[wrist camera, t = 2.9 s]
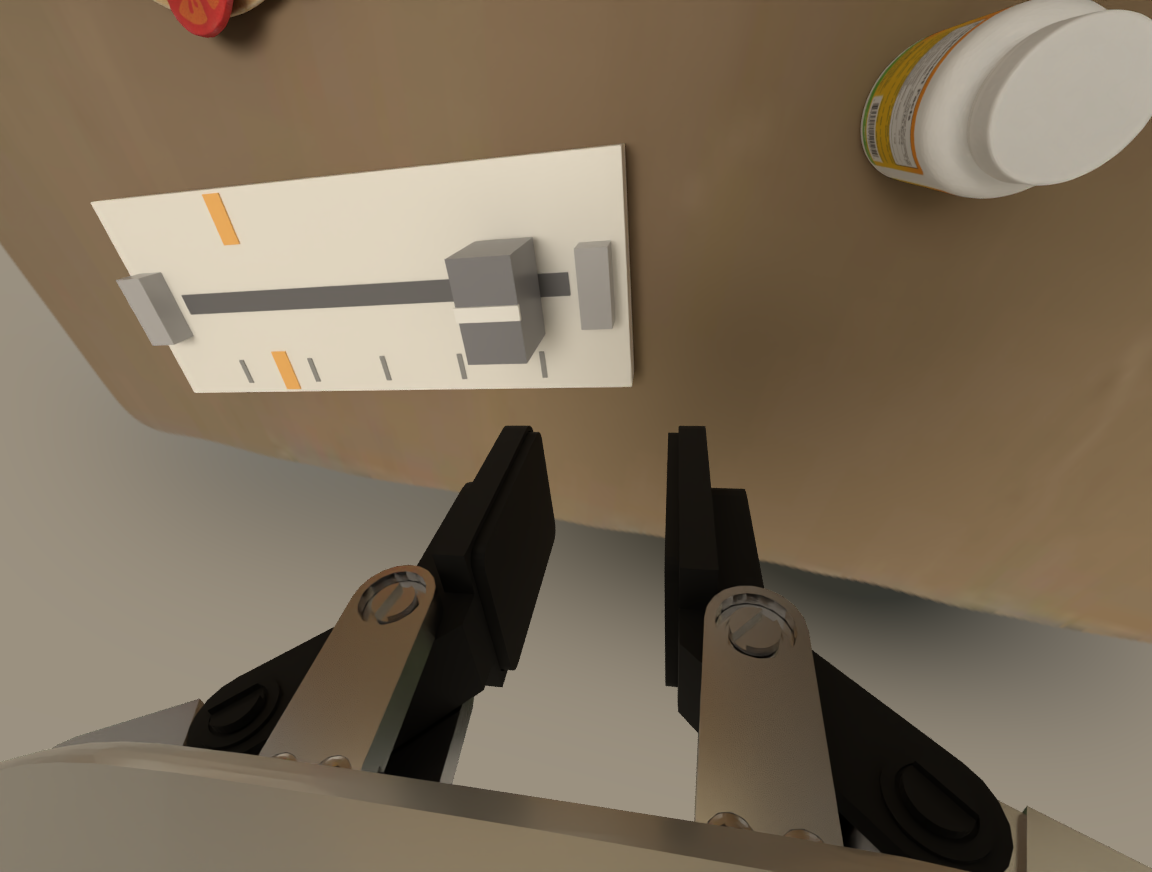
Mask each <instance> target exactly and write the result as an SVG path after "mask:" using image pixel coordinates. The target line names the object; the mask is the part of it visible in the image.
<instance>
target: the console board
mask: <svg viewBox="0 0 1152 872" xmlns="http://www.w3.org/2000/svg"><path fill="white" fill-rule="evenodd" d="M91 204H92V206H93V208H94V210H95V212H96V213H97V215H98V217H99V219H100V221H101V222H102V224H103V226H104V228H105V230H106V232H107V233H108V235H109V237H110V239H111V241H112V243H113V244H114V246H115V248H116V250H117V252H118V254H119V255H120V257H121V259H122V261H123V263H124V265H125V266H126V268H127V270H128V272H129V274H130V275H131V276H129V277H126V278H122V279H119V280H116V281H117V283H118V285H119V287H120V288H121V290H122V292H123V294H124V295H125V297H126V299H127V301H128V302H129V304H130V306H131V308H132V310H133V311H134V313H135V315H136V317H137V318H138V320H139V322H140V324H141V325H142V327H143V329H144V331H145V333H146V334H147V336H148V338H149V340H150V341H151V343H152V345H153V346H156V345H169V347H170V349H171V350H172V352H173V354H174V356H175V358H176V359H177V361H178V363H179V365H180V367H181V369H182V370H183V372H184V374H185V376H186V378H187V380H188V381H189V383H190V385H191V387H192V389H193V391H194V392H195V393H208V392H282V391H356V390H430V389H505V388H579V387H632V382H633V377H634V354H633V329H632V305H631V280H630V256H629V231H628V207H627V182H626V158H625V143H623V144H614V145H605V146H595V147H586V148H577V149H568V150H558V151H549V152H540V153H531V154H522V155H512V156H503V157H494V158H485V159H475V160H466V161H457V162H448V163H438V164H429V165H420V166H411V167H402V168H392V169H383V170H374V171H365V172H355V173H346V174H337V175H328V176H319V177H309V178H300V179H291V180H282V181H272V182H263V183H254V184H245V185H236V186H226V187H217V188H208V189H199V190H189V191H180V192H171V193H162V194H152V195H143V196H134V197H125V198H117V199H110V200H103V201H95V202H91ZM525 237H533V244H534V252H535V259H536V266H537V274H538V281H539V289H540V296H541V304H542V311H543V318H544V326H545V333H546V334H545V336H544V337H543V339H542V341H541V342H540V344H539V345H538V347H537V349H536V350H535V352H534V353H533V355H532V357H531V358H530V360H529V362H528V363H527V364H490V365H468V362H467V357H466V353H465V348H464V344H463V340H462V335H461V331H460V326H459V324H456V319H455V315H454V311H453V308H455V304H454V300H453V295H452V291H451V286H450V282H449V278H448V273H447V269H446V264H445V260H444V259H446V258H448V257H449V256H451V255H453V254H454V253H456V252H458V251H459V250H461V249H463V248H465V247H466V246H468V245H470V244H471V243H473V242H475V241H484V240H498V239H511V238H525Z"/></svg>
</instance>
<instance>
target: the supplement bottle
mask: <svg viewBox="0 0 1152 872" xmlns="http://www.w3.org/2000/svg"><path fill="white" fill-rule="evenodd" d="M1151 116H1152V20H1151V19H1150V18H1148V17H1147V16H1145V15H1143V14H1141V13H1137V12H1133V11H1128V10H1119V9H1115V10H1107V9H1105V8H1104V7H1102V6H1101V5H1099V4H1097V3H1095V2H1094V1H1091V0H1031V1H1027V2H1023V3H1020V4H1018V5H1015V6H1012V7H1009V8H1006V9H1003V10H1000V11H997V12H995V13H992V14H989V15H986V16H983V17H980V18H977V19H974V20H971V21H968V22H966V23H963V24H960V25H957V26H954V27H951V28H949V29H946V30H943V31H940V32H937V33H935V34H932V35H930V36H928V37H926V38H924V39H922V40H920V41H918V42H916V43H915V44H913V45H911V46H910V47H909V48H907V49H906V50H905V51H903V52H902V53H901V54H900V55H899V56H897V57H896V58H895V59H894V60H893V61H892V62H891V63H890V64H889V65H888V66H887V68H886V69H885V70H884V71H883V72H882V74H881V75H880V76H879V78H878V79H877V81H876V82H875V84H874V86H873V88H872V90H871V92H870V94H869V96H868V98H867V101H866V104H865V107H864V110H863V114H862V119H861V141H862V146H863V149H864V152H865V154H866V156H867V158H868V160H869V161H870V163H871V164H872V165H873V166H874V167H875V168H876V169H877V170H878V171H879V172H881V173H882V174H884V175H885V176H888V177H890V178H893V179H895V180H898V181H903V182H906V183H910V184H914V185H919V186H922V187H926V188H930V189H933V190H937V191H941V192H945V193H948V194H952V195H956V196H961V197H968V198H978V199H984V198H997V197H1003V196H1007V195H1012V194H1015V193H1018V192H1021V191H1024V190H1026V189H1029V188H1031V187H1034V186H1042V185H1052V184H1058V183H1062V182H1066V181H1069V180H1072V179H1075V178H1077V177H1080V176H1082V175H1084V174H1087V173H1089V172H1090V171H1092V170H1094V169H1096V168H1098V167H1100V166H1101V165H1103V164H1104V163H1106V162H1107V161H1108V160H1110V159H1111V158H1113V157H1114V156H1115V155H1117V154H1118V153H1119V152H1120V151H1122V150H1123V149H1124V148H1125V147H1126V146H1127V145H1128V144H1129V143H1130V142H1131V141H1132V140H1133V139H1134V138H1135V137H1136V136H1137V135H1138V134H1139V132H1140V131H1141V130H1142V129H1143V128H1144V126H1145V125H1146V124H1147V122H1148V121H1149V119H1150V118H1151Z"/></svg>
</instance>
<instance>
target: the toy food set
mask: <svg viewBox="0 0 1152 872" xmlns="http://www.w3.org/2000/svg"><path fill="white" fill-rule="evenodd" d="M153 1H155V2H157V3H158V4H160V5H162V6H164V7H166V8H168V9H170V10H172V12H173V14H174V15H175V17H176V19H177V20H178V21H179V22H180V23H181V24H182V26H183V27H185V28H186V29H187V30H188V31H189V32H191V33H192V34H195V35H198V36H201V37H207V38H209V37H215V36H217V35H218V34H219V33H220V32H221V31H222V30H223V29H224V28H225V27H226V25H227V23H228V21H229V18H230V17H233V16H237V15H240V14H243V13H245V12H247V11H249V10H251V9H253V8H254V7H256V6H258V5H259V4H261V3H262V2H263V1H264V0H153Z"/></svg>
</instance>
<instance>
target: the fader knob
mask: <svg viewBox="0 0 1152 872" xmlns="http://www.w3.org/2000/svg"><path fill="white" fill-rule="evenodd" d="M444 260H445V264H446V269H447V273H448V278H449V282H450V286H451V291H452V295H453V300H454V304H455V308H453V311H454V315H455V319H456V324H459V326H460V331H461V335H462V340H463V344H464V348H465V353H466V357H467V362H468V365H490V364H527V363H528V362H529V360H530V358H531V357H532V355H533V353H534V352H535V350H536V349H537V347H538V345H539V344H540V342H541V341H542V339H543V337H544V336H545V334H546V333H545V326H544V318H543V311H542V304H541V296H540V289H539V281H538V274H537V266H536V259H535V252H534V244H533V237H525V238H511V239H498V240H484V241H475V242H473V243H471V244H470V245H468V246H466V247H465V248H463V249H461V250H459V251H458V252H456V253H454V254H453V255H451V256H449V257H448V258H446V259H444Z"/></svg>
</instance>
